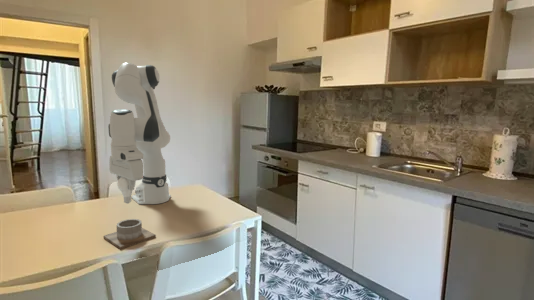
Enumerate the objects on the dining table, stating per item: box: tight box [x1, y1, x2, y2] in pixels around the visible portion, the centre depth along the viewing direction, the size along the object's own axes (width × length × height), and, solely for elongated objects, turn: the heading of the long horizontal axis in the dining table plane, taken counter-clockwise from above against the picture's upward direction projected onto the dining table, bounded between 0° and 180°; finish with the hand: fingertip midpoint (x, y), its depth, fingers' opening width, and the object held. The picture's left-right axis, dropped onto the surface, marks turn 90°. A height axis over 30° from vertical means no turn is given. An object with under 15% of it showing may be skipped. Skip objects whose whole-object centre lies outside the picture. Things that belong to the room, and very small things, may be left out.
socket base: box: [103, 218, 157, 250], centre depth 119 cm, size 14×14×6 cm
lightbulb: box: [116, 177, 136, 204], centre depth 116 cm, size 6×6×11 cm
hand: (126, 188), depth 116 cm, fingers closed on lightbulb, 6 cm apart
